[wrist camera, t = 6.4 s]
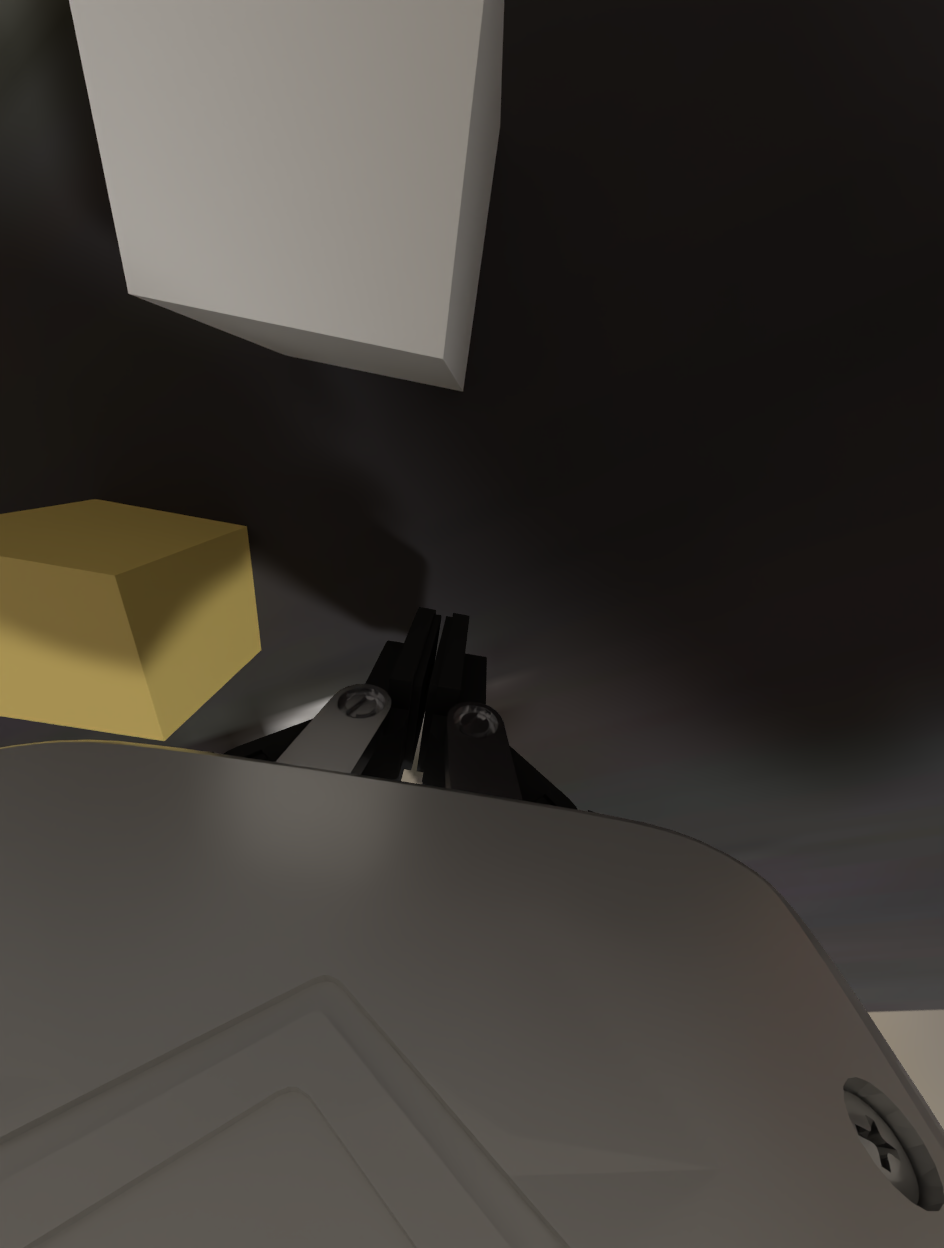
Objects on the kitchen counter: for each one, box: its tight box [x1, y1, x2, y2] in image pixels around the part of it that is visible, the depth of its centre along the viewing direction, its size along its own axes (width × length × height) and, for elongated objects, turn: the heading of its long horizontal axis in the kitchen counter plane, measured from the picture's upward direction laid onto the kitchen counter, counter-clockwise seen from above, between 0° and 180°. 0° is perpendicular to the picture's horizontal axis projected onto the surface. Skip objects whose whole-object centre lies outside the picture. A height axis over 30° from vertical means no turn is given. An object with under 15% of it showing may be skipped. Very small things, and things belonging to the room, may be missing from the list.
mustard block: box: [0, 499, 261, 741], centre depth 11 cm, size 5×5×5 cm
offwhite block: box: [69, 0, 504, 392], centre depth 7 cm, size 5×5×5 cm
